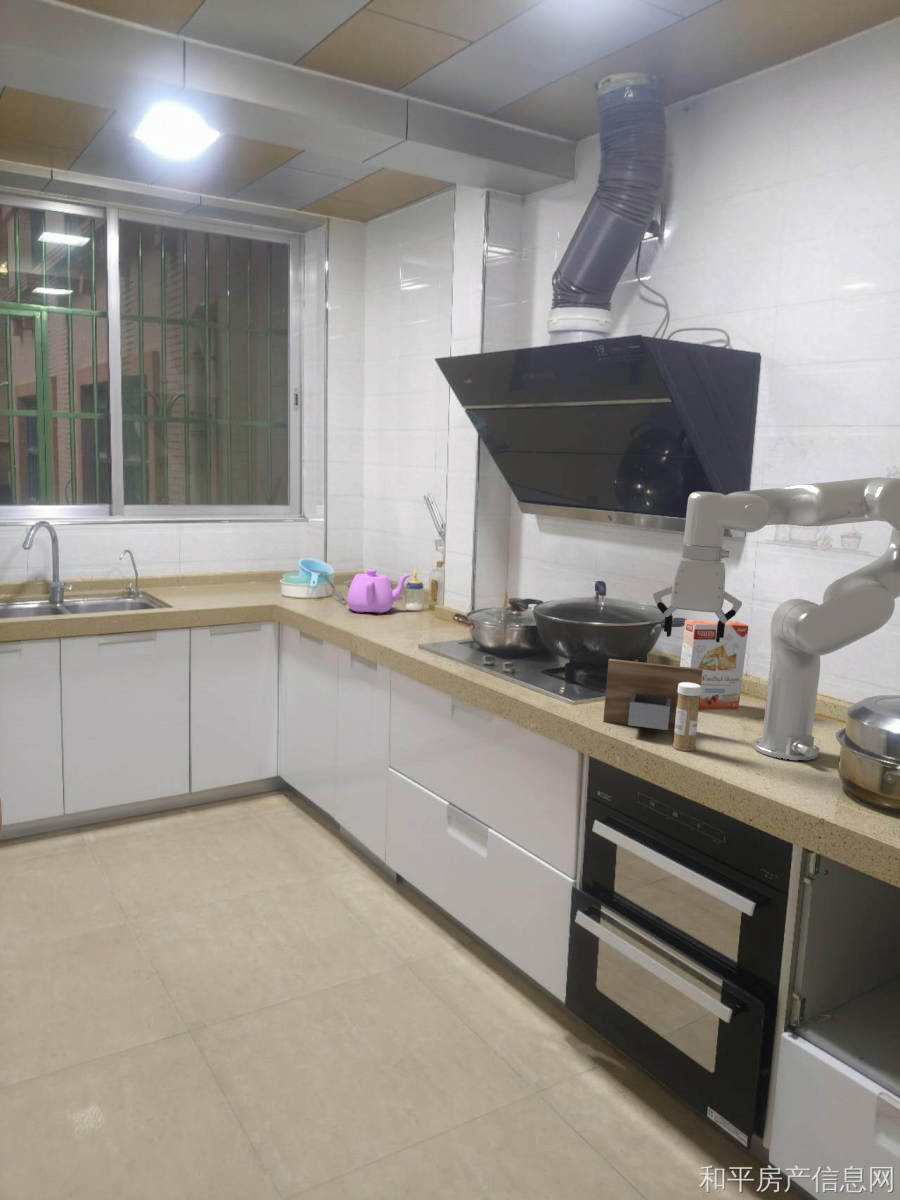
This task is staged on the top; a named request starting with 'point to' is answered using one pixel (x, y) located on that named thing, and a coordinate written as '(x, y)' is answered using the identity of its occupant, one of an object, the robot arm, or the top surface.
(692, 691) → the sprinkles bottle
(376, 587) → the teapot
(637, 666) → the wall holder
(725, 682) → the cracker box
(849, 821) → the top surface
